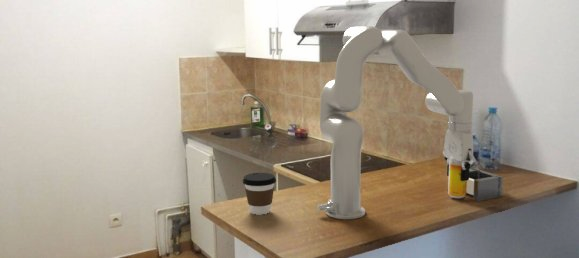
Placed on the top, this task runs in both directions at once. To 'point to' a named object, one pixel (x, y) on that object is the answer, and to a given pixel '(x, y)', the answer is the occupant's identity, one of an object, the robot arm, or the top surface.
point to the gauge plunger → (472, 183)
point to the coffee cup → (259, 192)
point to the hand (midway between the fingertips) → (457, 177)
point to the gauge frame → (486, 185)
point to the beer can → (456, 180)
